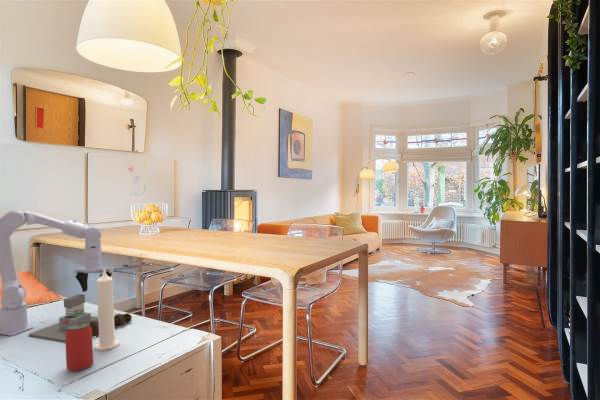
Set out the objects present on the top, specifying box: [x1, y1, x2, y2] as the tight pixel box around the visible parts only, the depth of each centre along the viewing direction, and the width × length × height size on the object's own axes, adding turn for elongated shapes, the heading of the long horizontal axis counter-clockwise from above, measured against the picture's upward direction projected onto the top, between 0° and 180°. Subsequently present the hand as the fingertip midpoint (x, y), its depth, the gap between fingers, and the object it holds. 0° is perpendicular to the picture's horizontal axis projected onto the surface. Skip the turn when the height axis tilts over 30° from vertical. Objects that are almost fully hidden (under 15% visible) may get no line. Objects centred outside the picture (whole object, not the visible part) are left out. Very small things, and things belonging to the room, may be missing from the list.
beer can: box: [64, 322, 94, 372], centre depth 105 cm, size 7×7×12 cm
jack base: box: [28, 311, 98, 343], centre depth 134 cm, size 20×20×5 cm
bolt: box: [90, 312, 133, 337], centre depth 133 cm, size 6×5×15 cm
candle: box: [94, 269, 121, 352], centre depth 118 cm, size 7×7×25 cm
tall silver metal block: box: [63, 293, 86, 318], centre depth 134 cm, size 4×6×8 cm
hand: (94, 290), depth 146 cm, fingers open, 7 cm apart
